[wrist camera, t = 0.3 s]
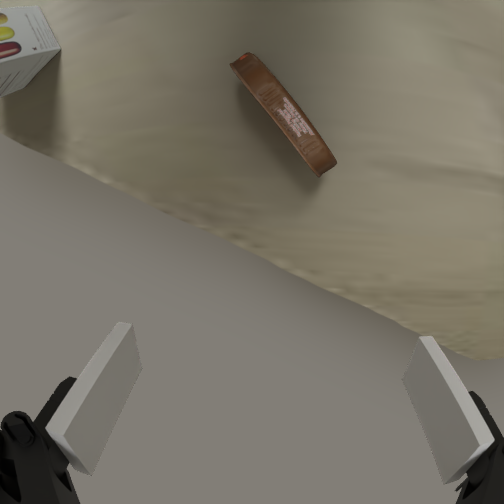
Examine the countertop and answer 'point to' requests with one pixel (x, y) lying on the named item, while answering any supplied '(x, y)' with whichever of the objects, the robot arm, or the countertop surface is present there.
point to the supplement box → (23, 46)
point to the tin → (284, 112)
